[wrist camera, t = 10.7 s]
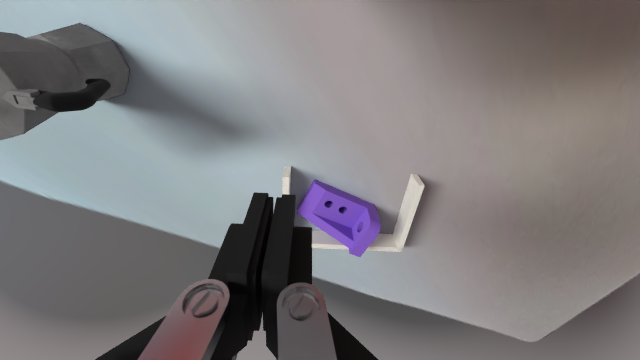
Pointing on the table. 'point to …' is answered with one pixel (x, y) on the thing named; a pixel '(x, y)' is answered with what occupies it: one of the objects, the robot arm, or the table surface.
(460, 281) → the table surface
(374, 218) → the bracket
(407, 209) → the white u-shaped fence
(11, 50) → the coffeepot
